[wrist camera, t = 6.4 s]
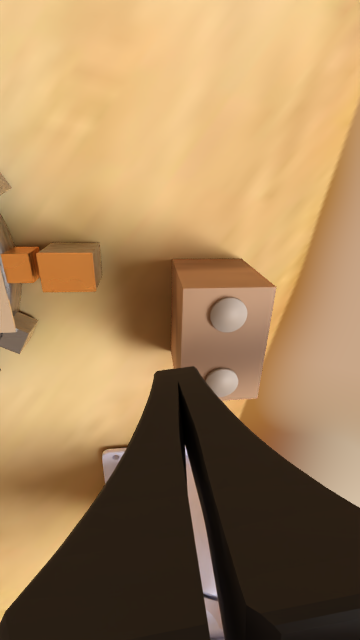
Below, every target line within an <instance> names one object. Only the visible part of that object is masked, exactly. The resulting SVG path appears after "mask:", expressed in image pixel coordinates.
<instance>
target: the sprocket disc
mask: <svg viewBox="0 0 360 640" xmlns="http://www.w3.org/2000/svg"><path fill="white" fill-rule="evenodd" d="M10 188H11V186H10V185H9V184H8V182H7V181H6V180H5V178H4V177H3V176H2V174H1V173H0V195H1V194H3V193H4V192H6V191H7V190H9V189H10ZM38 252H39V247H15V245H14V242H13V239H12V237H11V235H10V232H9V230H8V228H7V225H6V223H5V221H4V219H3V218H2V216H1V214H0V347H3V348H5V349H8V350H10V351H13V352H16V353H18V354H20V353H21V351H22V350H23V348H24V347H25V345H26V344H27V343H28V341H29V340H30V338H31V335H32V333H33V331H34V329H35V327H36V325H37V322H38V320H37V319H34V318H32V317H30V316H27V315H25V314H22V313H20V312H18V310H19V305H20V299H21V283H34V282H35V281H36V280H37V279H38V278H39V277H40V273H39V267H38V262H37V256H36V253H38ZM0 371H1V369H0Z"/></svg>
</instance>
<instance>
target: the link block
mask: <svg viewBox="0 0 360 640" xmlns="http://www.w3.org/2000/svg"><path fill="white" fill-rule="evenodd" d="M275 292H276V286H274V285H273V284H272V283H271V282H269V281H268V280H267V279H266V278H265V277H263V276H262V275H261V274H260V273H258V272H257V271H256V270H255V269H253V268H252V267H251V266H250V265H249V264H247V263H246V262H245V261H244V260H242V259H172V316H171V354H172V360H173V366H174V369H176V368H183V367H191V366H194V367H195V368H197V370H198V371H199V373H200V374H201V376H202V377H203V379H204V380H205V381H206V383H207V384H208V385H209V387H210V388H211V389H212V390H213V392H214V393H215V394H216V395H217V396H218V397H219V399H220V400H221V401H222V400H238V399H255V398H257V396H258V391H259V385H260V379H261V374H262V368H263V362H264V356H265V350H266V345H267V339H268V333H269V327H270V321H271V316H272V310H273V304H274V298H275Z"/></svg>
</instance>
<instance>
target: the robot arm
mask: <svg viewBox="0 0 360 640" xmlns="http://www.w3.org/2000/svg"><path fill="white" fill-rule="evenodd" d="M102 462H103V471H104V479H105V485H104V487H103V489H102V490H101V492H100V493H99V495H98V496H97V498H96V499H95V501H94V502H93V503H92V505H91V506H90V508H89V509H88V511H87V512H86V513H85V515H84V516H83V517H82V519H81V520H80V521H79V523H78V524H77V525H76V527H75V528H74V529H73V531H72V532H71V533H70V535H69V536H68V537H67V539H66V540H65V541H64V543H63V544H62V545H61V546H60V548H59V549H58V550H57V551H56V553H55V554H54V555H53V556H52V558H51V559H50V560H49V561H48V562H47V564H46V565H45V566H44V567H43V568H42V569H41V571H40V572H39V573H38V574H37V575H36V576H35V578H34V579H33V580H32V581H31V582H30V584H29V585H28V586H27V587H26V588H25V589H24V591H23V592H22V593H21V594H20V595H19V596H18V598H17V599H16V600H15V601H14V602H13V603H12V605H11V606H10V607H9V608H8V609H7V610H6V612H5V614H4V616H3V618H2V620H1V623H0V640H360V508H359V507H357V506H356V505H354V504H352V503H351V502H349V501H347V500H346V499H344V498H342V497H340V496H339V495H337V494H336V493H334V492H333V491H331V490H329V489H328V488H326V487H324V486H323V485H322V484H320V483H319V482H317V481H316V480H314V479H313V478H312V477H310V476H309V475H307V474H306V473H304V472H303V471H301V470H300V469H299V468H297V467H296V466H294V465H293V464H291V463H290V462H289V461H287V460H286V459H285V458H283V457H282V456H281V455H279V454H278V453H277V452H276V451H274V450H273V449H272V448H271V447H269V446H268V445H267V444H266V443H265V442H263V441H262V440H261V439H260V438H259V437H257V436H256V435H255V434H254V433H253V432H252V431H251V430H250V429H249V428H248V427H246V426H245V425H244V424H243V423H242V422H241V421H240V420H239V419H238V418H237V417H236V416H235V415H234V414H233V413H232V412H231V411H230V410H229V409H228V408H227V406H226V405H225V404H224V403H223V402H222V401H221V400H220V399H219V397H218V396H217V395H216V394H215V393H214V392H213V390H212V389H211V388H210V387H209V385H208V384H207V383H206V381H205V380H204V379H203V377H202V376H201V374H200V373H199V371H198V370H197V368H195V367H194V366H191V367H183V368H176V369H169V370H162V371H157V372H156V373H155V374H154V380H153V384H152V388H151V392H150V395H149V398H148V401H147V403H146V406H145V409H144V411H143V414H142V416H141V419H140V421H139V423H138V425H137V428H136V430H135V432H134V434H133V436H132V438H131V440H130V442H129V444H128V446H127V448H116V449H107V450H105V451H104V452H103V454H102Z"/></svg>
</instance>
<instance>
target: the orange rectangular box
mask: <svg viewBox="0 0 360 640" xmlns="http://www.w3.org/2000/svg"><path fill="white" fill-rule="evenodd" d="M36 256H37V262H38V267H39V273H40V278H41V284H42V289H43V292H95V291H96V290H97V287H98V285H99V282H100V280H101V277H102V267H101V256H100V244H99V243H78V242H52V243H51V244H49V245H48V246H46V247H45V248H44V249H42V250H41V251H39V252H38V253H36Z"/></svg>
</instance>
